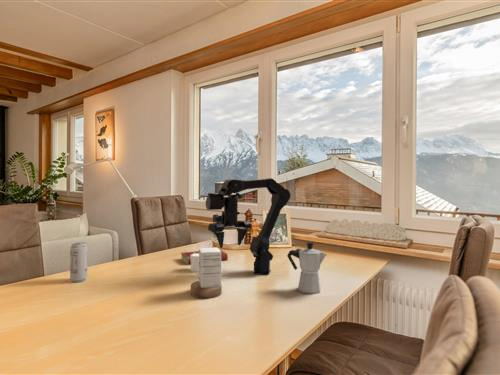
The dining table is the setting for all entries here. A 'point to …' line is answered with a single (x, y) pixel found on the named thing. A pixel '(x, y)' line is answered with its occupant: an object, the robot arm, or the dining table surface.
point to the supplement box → (209, 267)
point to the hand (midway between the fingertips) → (230, 246)
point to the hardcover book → (187, 254)
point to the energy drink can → (78, 262)
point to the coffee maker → (308, 268)
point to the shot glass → (194, 262)
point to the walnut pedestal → (204, 291)
